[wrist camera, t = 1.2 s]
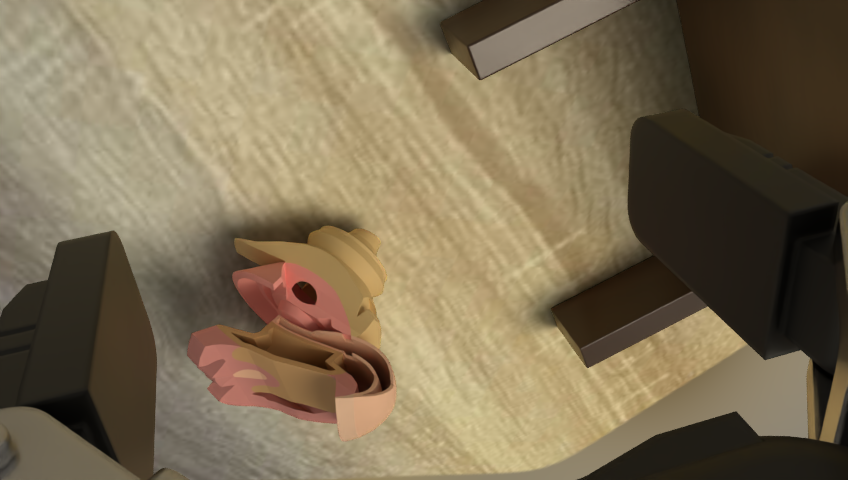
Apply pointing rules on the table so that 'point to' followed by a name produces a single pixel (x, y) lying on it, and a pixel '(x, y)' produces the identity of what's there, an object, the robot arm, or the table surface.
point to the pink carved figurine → (306, 333)
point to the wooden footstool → (717, 104)
